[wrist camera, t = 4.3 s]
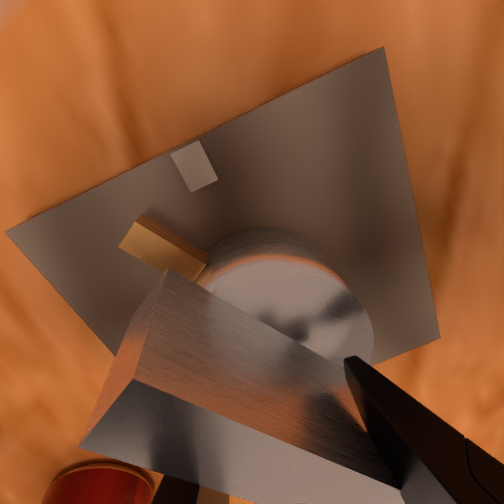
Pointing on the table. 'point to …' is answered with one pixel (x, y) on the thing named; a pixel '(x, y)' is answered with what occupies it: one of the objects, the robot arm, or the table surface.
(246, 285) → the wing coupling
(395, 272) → the post base
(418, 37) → the table surface
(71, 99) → the table surface
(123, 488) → the soda can
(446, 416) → the table surface
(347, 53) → the table surface
